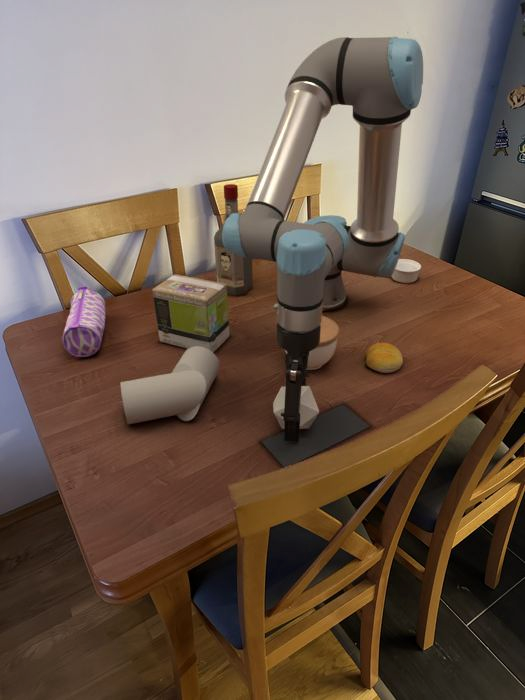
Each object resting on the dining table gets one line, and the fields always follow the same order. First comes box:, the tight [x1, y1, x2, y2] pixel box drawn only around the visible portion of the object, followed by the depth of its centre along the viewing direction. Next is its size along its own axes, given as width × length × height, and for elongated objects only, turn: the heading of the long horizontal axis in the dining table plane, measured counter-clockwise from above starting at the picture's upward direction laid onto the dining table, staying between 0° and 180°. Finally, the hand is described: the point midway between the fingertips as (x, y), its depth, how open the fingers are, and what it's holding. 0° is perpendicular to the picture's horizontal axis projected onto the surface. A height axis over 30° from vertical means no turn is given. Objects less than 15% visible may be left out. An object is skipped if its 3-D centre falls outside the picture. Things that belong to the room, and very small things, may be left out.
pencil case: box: [62, 285, 107, 358], centre depth 121 cm, size 22×9×10 cm, turn 14°
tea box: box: [151, 273, 230, 353], centre depth 118 cm, size 15×10×15 cm
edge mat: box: [260, 404, 371, 468], centre depth 94 cm, size 20×8×1 cm, turn 122°
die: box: [272, 385, 320, 430], centre depth 94 cm, size 8×9×10 cm
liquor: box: [213, 183, 254, 297], centre depth 137 cm, size 9×9×30 cm
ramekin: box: [390, 258, 422, 284], centre depth 150 cm, size 9×9×4 cm
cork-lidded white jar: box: [284, 315, 340, 371], centre depth 111 cm, size 13×13×11 cm
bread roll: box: [365, 342, 404, 374], centre depth 112 cm, size 8×9×4 cm
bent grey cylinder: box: [120, 346, 221, 425], centre depth 99 cm, size 18×11×20 cm
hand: (294, 421), depth 96 cm, fingers closed on die, 10 cm apart
